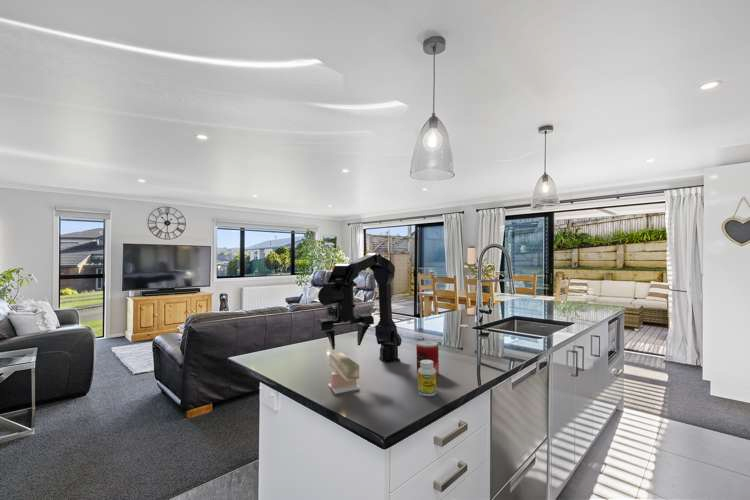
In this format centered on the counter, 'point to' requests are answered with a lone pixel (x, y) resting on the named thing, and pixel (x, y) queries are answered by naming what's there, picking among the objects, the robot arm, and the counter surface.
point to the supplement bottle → (427, 378)
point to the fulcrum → (341, 384)
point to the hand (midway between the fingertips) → (346, 347)
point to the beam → (344, 366)
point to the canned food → (428, 353)
